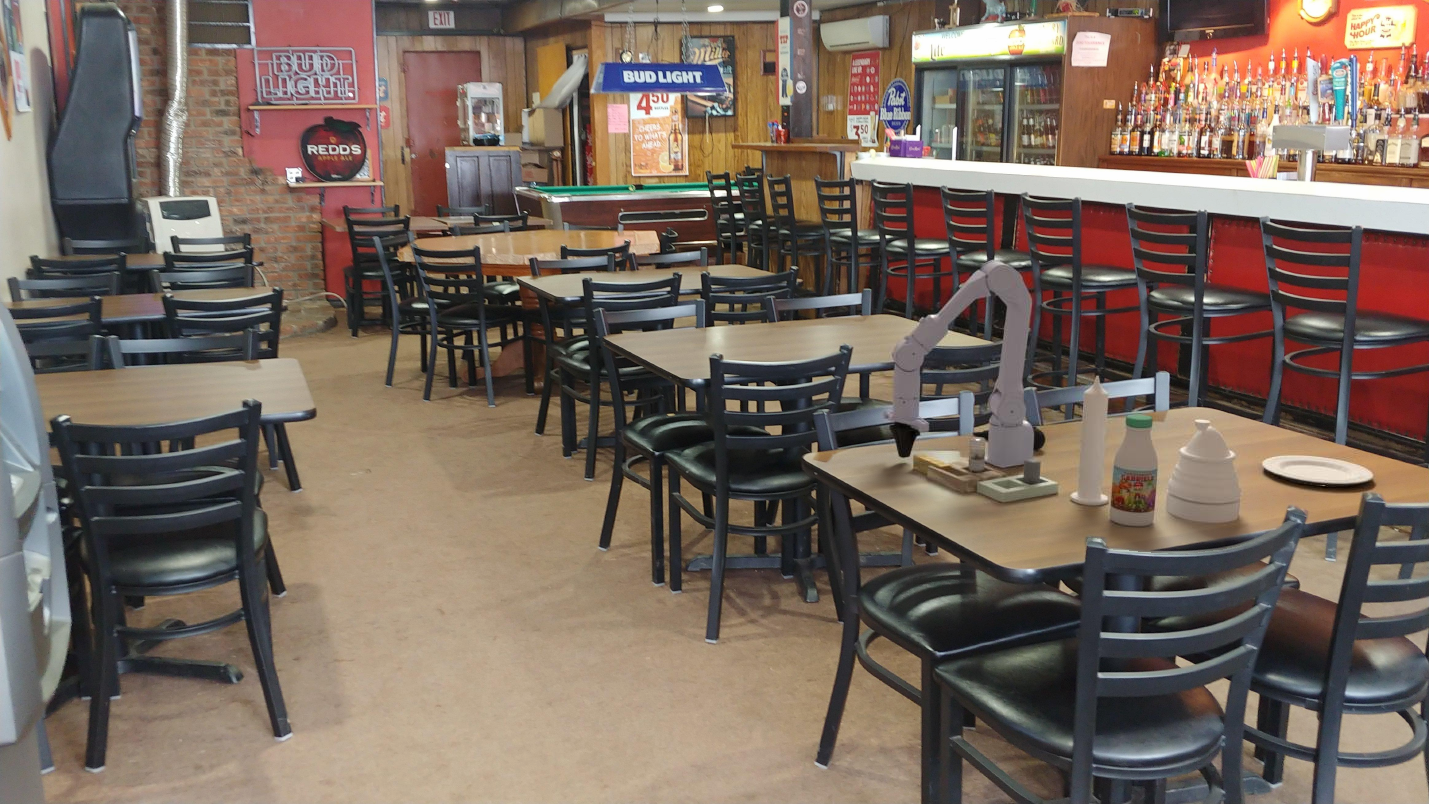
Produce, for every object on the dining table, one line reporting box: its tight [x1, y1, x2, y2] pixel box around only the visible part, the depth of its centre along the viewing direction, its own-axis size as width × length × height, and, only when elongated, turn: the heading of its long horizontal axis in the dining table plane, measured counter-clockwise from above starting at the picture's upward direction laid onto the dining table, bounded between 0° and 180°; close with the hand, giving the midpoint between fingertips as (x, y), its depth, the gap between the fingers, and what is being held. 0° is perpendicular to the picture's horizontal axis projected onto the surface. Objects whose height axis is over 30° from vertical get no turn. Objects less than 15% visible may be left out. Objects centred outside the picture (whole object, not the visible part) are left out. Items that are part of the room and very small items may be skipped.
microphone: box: [972, 426, 1046, 451], centre depth 266 cm, size 6×6×20 cm
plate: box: [1261, 455, 1374, 487], centre depth 240 cm, size 21×21×2 cm
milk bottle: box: [1109, 413, 1159, 528], centre depth 210 cm, size 8×8×20 cm
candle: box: [1069, 375, 1110, 506], centre depth 222 cm, size 7×7×25 cm
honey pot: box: [1165, 419, 1242, 524], centre depth 216 cm, size 13×13×18 cm
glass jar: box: [968, 436, 987, 474], centre depth 237 cm, size 3×3×9 cm
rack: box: [976, 458, 1060, 503], centre depth 230 cm, size 14×8×6 cm, turn 116°
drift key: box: [912, 453, 951, 476], centre depth 243 cm, size 2×10×3 cm, turn 26°
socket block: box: [927, 459, 1008, 494], centre depth 237 cm, size 11×12×2 cm
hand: (904, 456), depth 252 cm, fingers closed
